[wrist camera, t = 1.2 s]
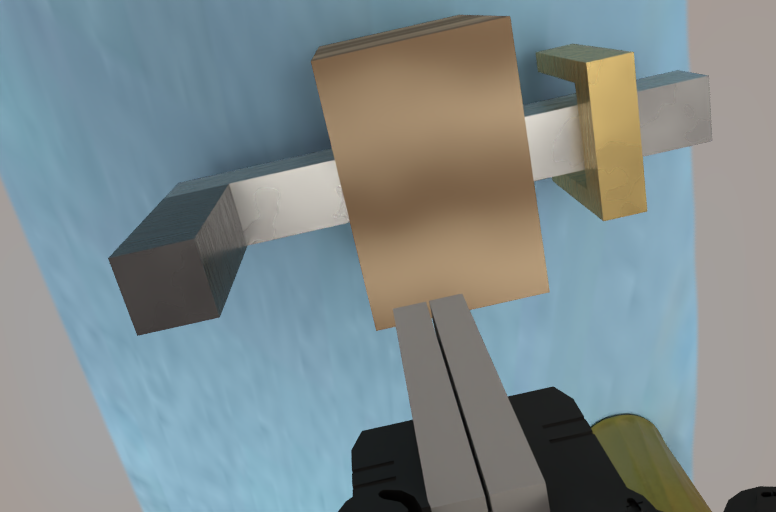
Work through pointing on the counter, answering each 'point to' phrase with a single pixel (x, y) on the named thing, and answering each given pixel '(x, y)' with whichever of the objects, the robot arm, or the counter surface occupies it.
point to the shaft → (336, 202)
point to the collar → (603, 128)
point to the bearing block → (434, 163)
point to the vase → (648, 464)
